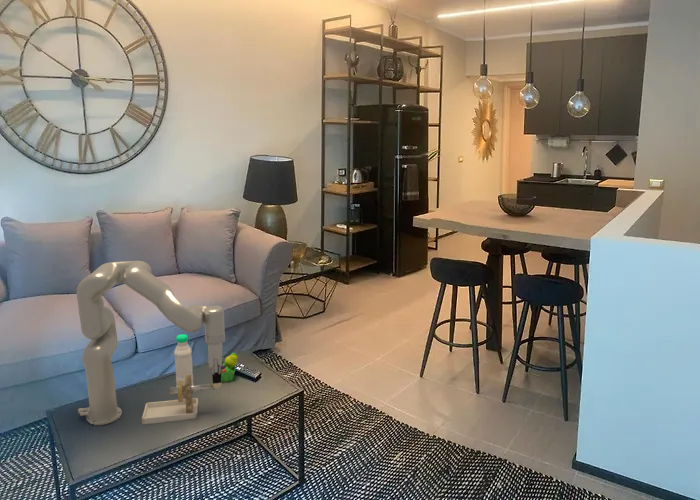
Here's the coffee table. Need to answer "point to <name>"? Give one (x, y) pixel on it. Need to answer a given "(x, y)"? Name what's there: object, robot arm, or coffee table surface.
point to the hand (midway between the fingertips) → (217, 380)
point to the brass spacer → (180, 391)
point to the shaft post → (188, 394)
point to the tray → (168, 411)
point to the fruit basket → (228, 368)
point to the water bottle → (183, 359)
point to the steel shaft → (197, 387)
